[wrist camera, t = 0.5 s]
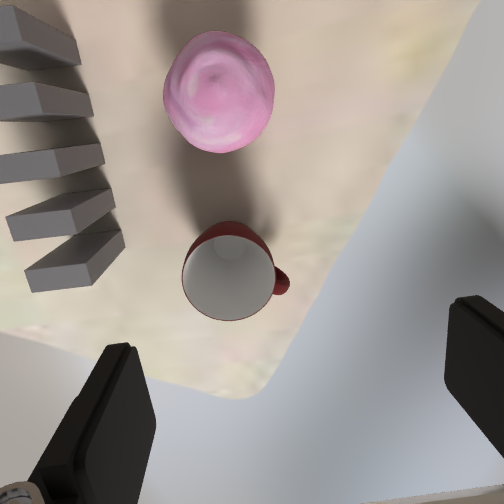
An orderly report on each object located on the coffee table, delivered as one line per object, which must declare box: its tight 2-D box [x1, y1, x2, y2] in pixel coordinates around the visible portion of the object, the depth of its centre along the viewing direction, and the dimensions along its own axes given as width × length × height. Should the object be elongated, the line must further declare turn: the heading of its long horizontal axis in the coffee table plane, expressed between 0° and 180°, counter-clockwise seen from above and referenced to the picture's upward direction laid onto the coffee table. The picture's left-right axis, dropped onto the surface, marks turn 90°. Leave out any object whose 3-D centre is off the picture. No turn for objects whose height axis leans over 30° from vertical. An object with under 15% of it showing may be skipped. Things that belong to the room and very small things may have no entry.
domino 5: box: [24, 230, 125, 293], centre depth 34 cm, size 2×5×10 cm, turn 96°
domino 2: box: [0, 82, 94, 122], centre depth 30 cm, size 2×5×10 cm, turn 96°
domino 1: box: [0, 5, 82, 71], centre depth 28 cm, size 2×5×10 cm, turn 96°
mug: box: [182, 221, 290, 321], centre depth 35 cm, size 11×8×10 cm
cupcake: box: [163, 31, 275, 153], centre depth 30 cm, size 9×9×10 cm
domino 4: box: [5, 188, 116, 241], centre depth 33 cm, size 2×5×10 cm, turn 96°
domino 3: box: [0, 143, 105, 184], centre depth 31 cm, size 2×5×10 cm, turn 96°
